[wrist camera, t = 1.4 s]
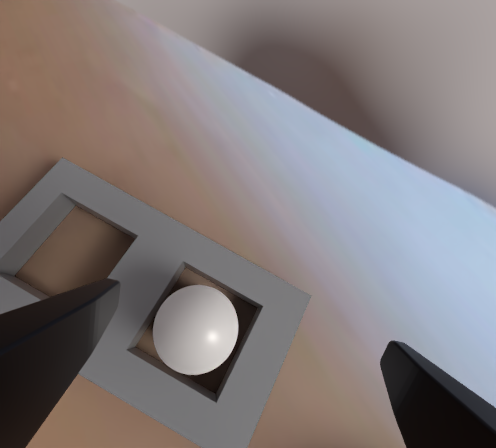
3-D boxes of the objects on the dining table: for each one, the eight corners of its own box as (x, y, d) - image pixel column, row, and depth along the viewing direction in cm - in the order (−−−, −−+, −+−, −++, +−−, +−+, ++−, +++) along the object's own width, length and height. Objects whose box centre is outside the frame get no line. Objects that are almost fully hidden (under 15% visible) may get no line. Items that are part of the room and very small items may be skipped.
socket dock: (234, 451, 20) (245, 503, 14) (-34, 292, 21) (-124, 280, 15) (301, 298, 24) (329, 290, 18) (76, 172, 25) (37, 129, 19)
